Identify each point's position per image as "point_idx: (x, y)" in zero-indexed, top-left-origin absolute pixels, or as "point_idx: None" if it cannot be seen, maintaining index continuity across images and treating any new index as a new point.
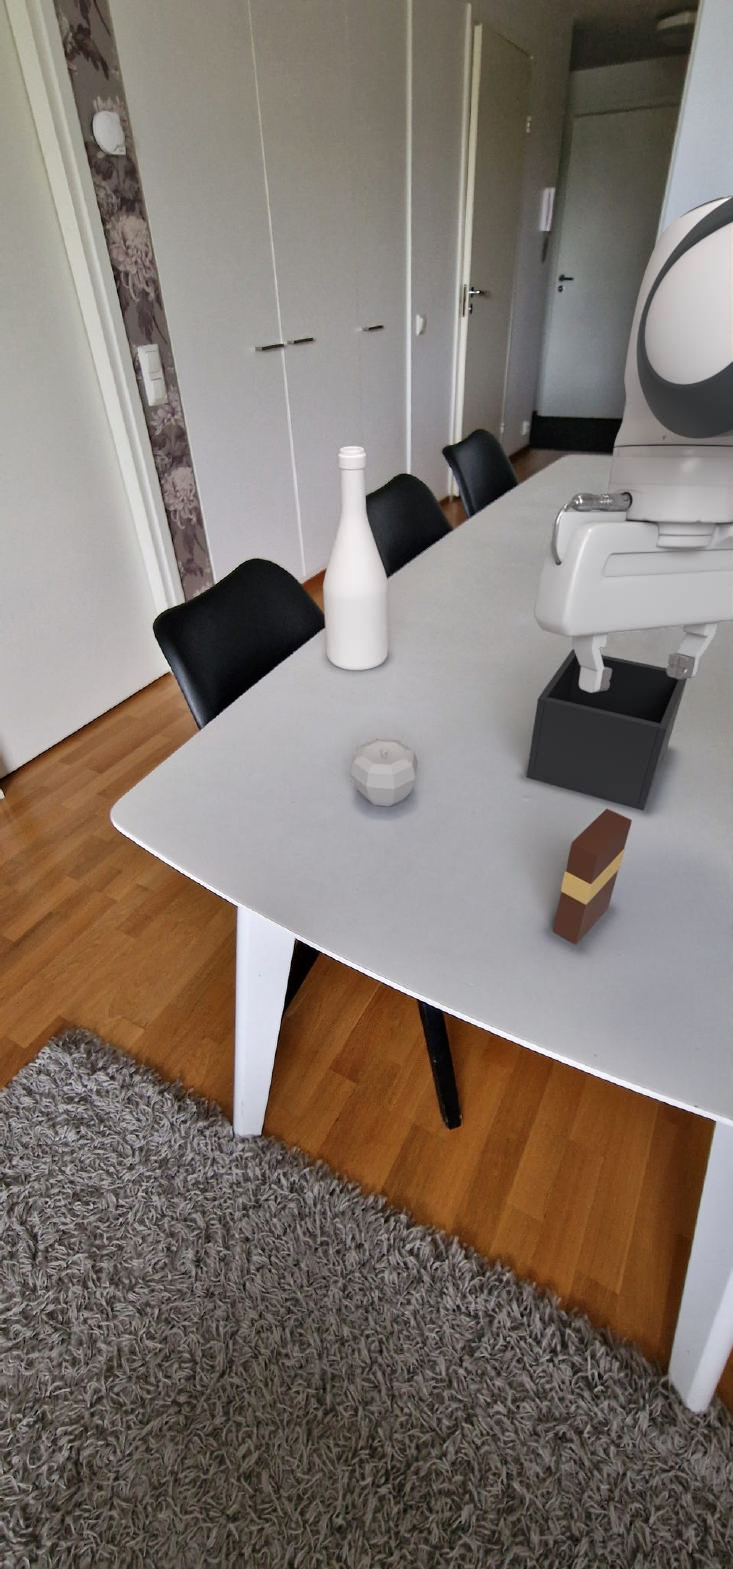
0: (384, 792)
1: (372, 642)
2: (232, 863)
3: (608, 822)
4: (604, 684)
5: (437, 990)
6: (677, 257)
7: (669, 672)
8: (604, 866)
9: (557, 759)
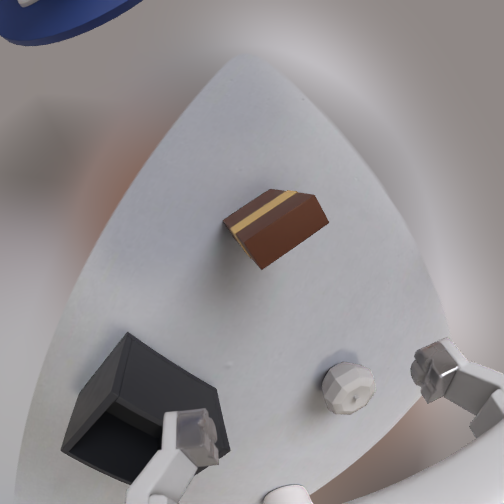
0: (357, 366)
1: (286, 502)
2: (432, 315)
3: (273, 244)
4: (435, 351)
5: (375, 182)
6: None
7: (214, 429)
8: (278, 206)
9: (199, 395)
